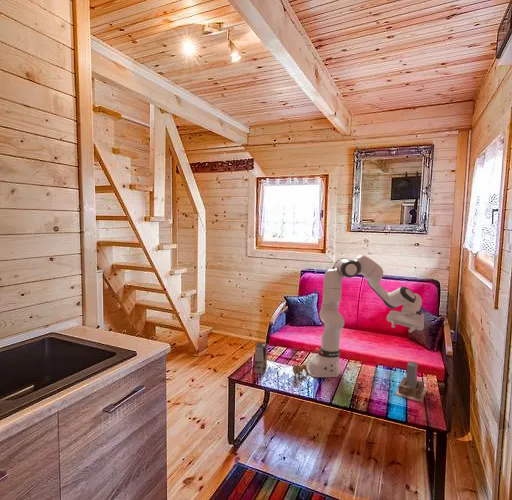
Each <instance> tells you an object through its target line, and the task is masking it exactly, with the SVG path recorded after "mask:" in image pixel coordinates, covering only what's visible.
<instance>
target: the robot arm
mask: <svg viewBox="0 0 512 500" xmlns="http://www.w3.org/2000/svg"><path fill="white" fill-rule="evenodd" d="M358 274H361V275H362V276H363V277H364V278H365V279H366V280H367V284H368V286H369V287H370V288H371V290H372V291H373V292H374V293H375V294H376V295H377V296H378V297H379V298H380V299H381V300H382V302H383V303H384V305H385V306H386V307H388V308H389V309H392V310H389V313H388V314H387V316H386V321H387V322H388V323H391V328H392V329H393V328H396V325H398V326H399V325H400V326H403V327H406V328H408V333H411V334H412V332H414V331H416V330H417V331H423V330H424V328H425V327H424V326H425V325H424V324H425V313H422V312H421V311H420V310H421V307H422V305H423V301H422V297H421V295H419V294H418V293H415V292H413V291H412V290H411V288H409V287H407V286H401V287H398V288H396V289H395V290H393V291H391V292H389V291H387V290H386V289H385V288H384V287H383V286H382V285H381V284H380V282H381V281H382V279H383V277H384V269H383V268H382V267H381V265H380V264H378V263H377V262H375V261H374V260H373V259H371V258H370V257H368V256H366V255H364V254H361V255H358V256H356V257H355V259H354V260H353V259H350V258H344V257H343V258H341V257H340V258H339V259H337V260H336V262H335V263H334V265H333V266H332V269H331V268H330V269H328V270H326V271H325V273H324V277H323V284H322V302H321V305H320V310H319V314H318V315H319V319H320V320H321V322H322V323H323V325H324V327H323V328H324V329H323V332H322V334H321V341H320V342H321V344H320V345H321V346H320V348H318V347H316V348H315V351H316V352H317V354H316V355H315V356H314V357H312V358H311V359H309V362H308V366H307V365H306V366H307V370H308V375H309V376H311V377H313V378H338V377H339V375H340V374H341V373H342V369H341V363H340V356H341V349H340V344H341V343H340V341H341V334H342V331H343V328H344V326H345V320H344V316H343V315H342V314H341V312H339V306H340V303H341V301H342V285H343V283H342V282H343V279H344V278H347V279H349V278H351V279H352V278H354V277H356V276H357V275H358ZM400 306H402V308H401V310H396V308H398V307H400Z"/></svg>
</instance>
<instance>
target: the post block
mask: <svg viewBox="0 0 512 500" xmlns="http://www.w3.org/2000/svg"><path fill="white" fill-rule="evenodd" d="M406 381H407V376H406V377H405V376H403V377H402V380H401V381H400V382H399V384H398V388H397V390H396V392H395V394H394V395H395V396H398V397H401V398H406V399H409V400H413V401H416V402H419V403H423V402H424V401H423V400H424V398H425V396H426V393H427V390H428V389H427V388H425V386H424V385H425V382H424V381H422V380H418V379H417V389H416V388H412V387H408V386H406Z"/></svg>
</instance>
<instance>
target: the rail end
mask: <svg viewBox="0 0 512 500" xmlns="http://www.w3.org/2000/svg"><path fill="white" fill-rule="evenodd" d="M406 367H407V368H406V378H407V381H406V386H408V387H412V388H416V389H417V380H418V362H417V361H415V362H414V361H412V360H411V361H410V360H409V361H408V363H407V365H406Z"/></svg>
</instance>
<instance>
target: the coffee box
mask: <svg viewBox="0 0 512 500" xmlns="http://www.w3.org/2000/svg"><path fill="white" fill-rule="evenodd" d="M267 366H268V343H267V342H257V344H255V348H254V373H255V374H265V373H266V370H267V368H268V367H267Z"/></svg>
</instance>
